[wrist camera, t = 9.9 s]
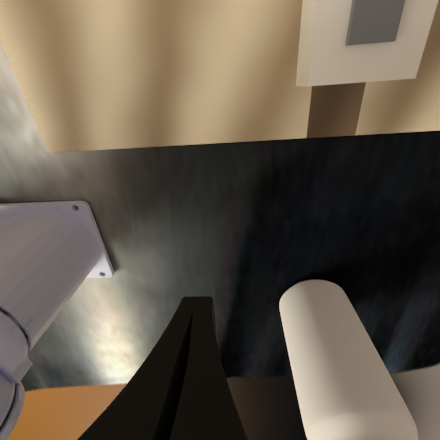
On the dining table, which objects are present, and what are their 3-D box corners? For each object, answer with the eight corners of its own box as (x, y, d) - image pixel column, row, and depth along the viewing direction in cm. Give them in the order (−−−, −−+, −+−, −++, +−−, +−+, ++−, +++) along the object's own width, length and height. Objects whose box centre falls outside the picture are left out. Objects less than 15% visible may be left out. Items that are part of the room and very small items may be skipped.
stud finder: (295, 86, 14) (309, 86, 11) (307, -65, 11) (329, -109, 8) (385, 79, 13) (420, 78, 11) (423, -79, 10) (482, -129, 8)
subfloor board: (57, 149, 17) (48, 153, 16) (-43, -104, 11) (-66, -119, 11) (436, 127, 15) (448, 129, 14) (551, -191, 9) (583, -219, 9)
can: (322, 265, 21) (407, 435, 11) (357, 303, 24) (455, 476, 13) (265, 297, 24) (290, 463, 13) (301, 329, 26) (346, 493, 16)
